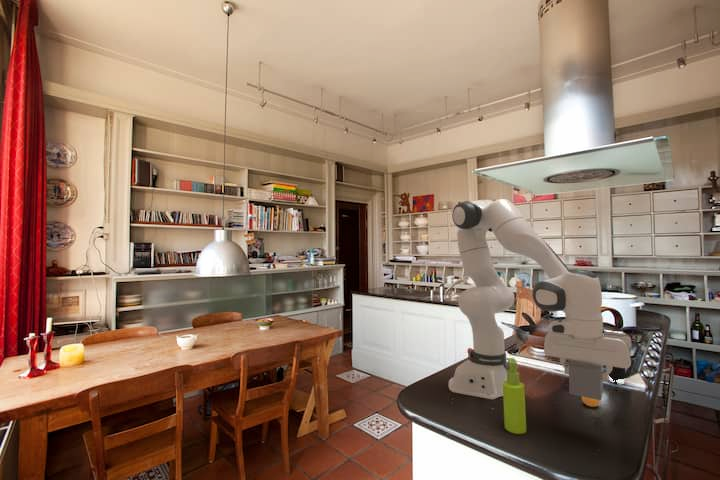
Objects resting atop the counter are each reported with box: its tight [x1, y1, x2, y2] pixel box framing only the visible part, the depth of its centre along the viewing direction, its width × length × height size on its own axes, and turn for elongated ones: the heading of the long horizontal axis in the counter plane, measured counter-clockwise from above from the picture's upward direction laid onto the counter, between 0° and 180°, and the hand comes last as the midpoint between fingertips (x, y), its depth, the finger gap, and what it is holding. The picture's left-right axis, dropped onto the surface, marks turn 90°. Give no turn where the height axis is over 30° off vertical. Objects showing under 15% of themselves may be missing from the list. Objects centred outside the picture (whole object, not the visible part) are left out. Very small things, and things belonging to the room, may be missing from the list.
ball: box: [581, 396, 601, 408], centre depth 113 cm, size 5×5×5 cm
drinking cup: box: [606, 329, 627, 386], centre depth 131 cm, size 8×8×20 cm
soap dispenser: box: [502, 357, 527, 435], centre depth 102 cm, size 6×7×20 cm
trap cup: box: [568, 360, 604, 402], centre depth 96 cm, size 7×7×8 cm
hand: (585, 377), depth 96 cm, fingers closed on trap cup, 7 cm apart
